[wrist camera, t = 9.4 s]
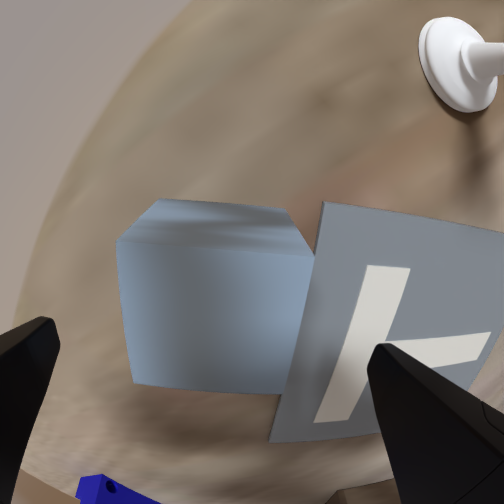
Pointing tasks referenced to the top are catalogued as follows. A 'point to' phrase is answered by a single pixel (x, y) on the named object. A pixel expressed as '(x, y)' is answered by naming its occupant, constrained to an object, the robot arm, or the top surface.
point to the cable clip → (107, 492)
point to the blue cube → (212, 295)
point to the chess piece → (460, 63)
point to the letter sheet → (387, 313)
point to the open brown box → (368, 494)
